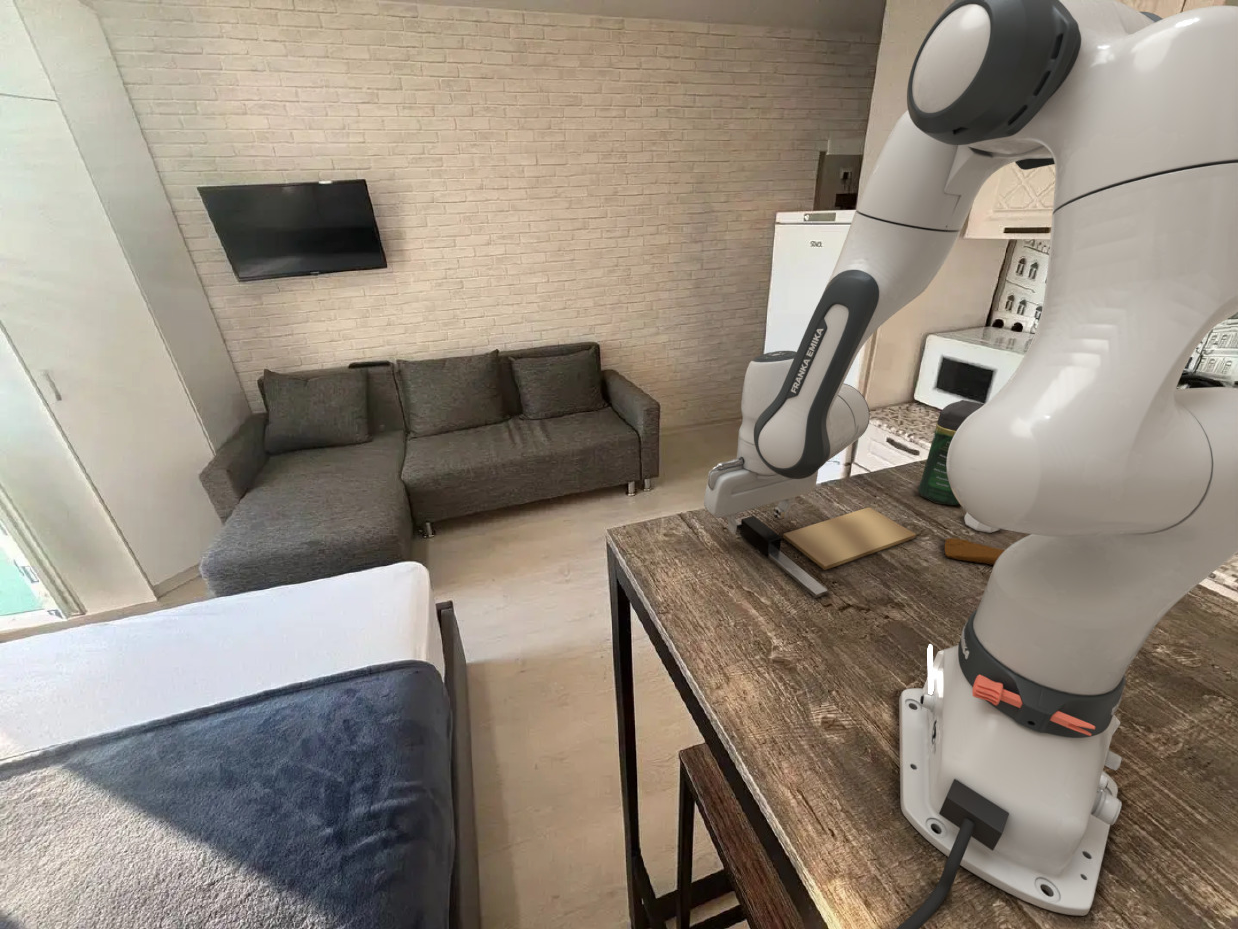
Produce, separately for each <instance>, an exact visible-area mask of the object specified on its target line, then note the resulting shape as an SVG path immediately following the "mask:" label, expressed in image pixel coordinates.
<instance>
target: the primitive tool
mask: <svg viewBox="0 0 1238 929" xmlns="http://www.w3.org/2000/svg"><path fill="white" fill-rule="evenodd" d="M1005 550H1006V549H1004V548H1003V549H1002V548H997V547H992V546H989V545H984V544H981V543H975V542H971V541H969V540H967V539H959V538H954V537H953V538H952V537H951V538H946V539H945V541H944V554H945V556H946V557H947V558H951V559H953V560H959V561H965V562H966V561H967V562H972V563H982V564H987V565H993V566H994V564H995V562H996V560H997V559H998V557H999V556H1000V555H1001V554H1002V553H1003V552H1004V551H1005Z"/></svg>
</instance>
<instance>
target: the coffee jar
mask: <svg viewBox="0 0 1238 929" xmlns="http://www.w3.org/2000/svg"><path fill="white" fill-rule="evenodd" d="M984 404H985V403H981V402H977V401H971V400H966V399H960V400H959V401H955V402H951V403H949V404H947V405H946V406H944V407H943V408H942V409H941V411H940V412H939V415H938V418H937V421H936V425H935V429H934V433H933V437H932V440H931V444H930V448H929V450H928V454H927V458H926V462H925V465H924V470H923V471H922V475H921V479H920V482H919V486H918V488H917V489H918V490H917V491H918V494H919V496H921V497H923V498H924V499H927V500H929V501H930V502H932V503H935V504H939V505H942V504H943V505H950V506H957V505H960V503H959V502H958V500H957V499H956V497H955V496H954V494H953V492H952V489H951V487H950V484H949V480H948V476H947V467H946V463H947V455H948V450H949V446H950V443H951V441H952V439H953V437H954V435H955V433H956V431H957V430H958V428H959V427H960V425H961V424H962V423H963V422H964V420H965V419H966V418H967V417H968V416H969V415H971V414H972V413H973V412H975V411H976V410H978V409H979V408H981V407H982V406H983V405H984Z"/></svg>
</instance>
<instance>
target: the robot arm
mask: <svg viewBox="0 0 1238 929" xmlns="http://www.w3.org/2000/svg"><path fill="white" fill-rule="evenodd" d="M906 89H907V90H906V106H907V110H906V111H905V112H904V113H902V115H901V116H900V117H899V118H898V119H897V121H896V123H895V124H894V126H893V128H892V130H891V131H890V133H889V135H888V137H887V139H886V141H885V142H884V144H883V147H882V148H881V150H880V152H879V154H878V156H877V159H876V160H875V163H874V165H873V167H872V169H871V171H870V174H869V176H868V178H867V180H866V183H865V185H864V188H863V189H862V193H861V195H860V198H859V201H858V203H857V206H856V209H855V212H854V214H853V217H852V220H851V223H850V226H849V229H848V231H847V234H846V237H845V240H844V242H843V245H842V248H841V250H840V252H839V256H838V258H837V260H836V263H835V266H834V268H833V270H832V273H831V275H830V277H829V279H828V282H826V286H825V288H824V290H823V293H822V294H821V297H820V299H819V301H818V303H817V305H816V307H815V309H814V311H813V313H812V316H811V317H810V320H809V321H808V324H807V326H806V329H805V331H804V334H803V336H802V338H801V341H800V343H799V345H798V348H797V350H796V351H794V350H775V351H771V352H769V351H768V352H766V353H763V354H760V355H758V356H756V357H754V358H753V359H752V360H751V361H750V362H749V363H748V366H747V368H746V372H745V375H744V380H743V384H742V393H741V401H740V402H741V403H740V412H741V416H742V417H741V418H742V421H741V425H740V427H739V430H738V440H737V449H736V458H733V459H730V460H727V461H720V462H718V463H716V464H715V466H714V467H712V469H711V470H709V471H708V475H707V483H706V488H705V493H704V500H703V506H704V508H705V509H706V511H707V512H708V513H709V514H710V515H712V516H713V517H714V518H716V519H722V518H725V519H726V520H727V530H728V531H729V532H730V533H731V534H733V535H734V534H737V533H740V531H741V525H742V524H741V521H739V520H738V519H737V518H738V514H740V513H743V512H747V511H751V510H754V509H758V508H761V507H764V506H768V505H773V504H776V503H778V505H777V506H775V507H774V508H773V514H772V515H773V517H774V518H775V519H777V521H781V520H785V519H787V518H788V511H789V510H790V509H791V507H792V506H793V504H794V503H795V501H796V498H797V497H800V496H805V495H808V494H811V493H812V492H813V490H815V487H816V486H817V482H818V477H819V476H818V475H819V470H820V469H821V468H822V467H823V466H824V465H825V464H827V462H828V461H830V460H832V458H835V456H837V455H839V454H841V452H843V451H844V450H845V449H847V448H848V447H849V446H850V445H852V444H853V443H855V442H856V441H857V440H859V439H860V438H861V437H862V436H863V435H864V434H865V433H866V431H867V429H868V427H869V423H870V419H871V418H870V417H871V416H870V415H871V414H870V407H869V404H868V402H867V400H866V398H865V397H864V395H863V394H862V393H861V392H860V391H859V390H858V389H857V388H855V387H854V386H852V385H850V384H848V383H844V382H845V380H846V379H847V376H848V375H849V372H850V370H851V369H852V366H853V364H854V362H855V359H856V357H857V356H858V355H859V353H860V351H861V349H863V346H864V345H865V343H866V342H867V341H868V340H869V339H870V338H871V336H872V335H873V334H874V333H875V332H876V331H877V330H878V329H879V328H880V327H881V326H882V325H883V324H884V323H886V322H887V321H888V320H889V319H890V318H891V317H893V316H894V315H895V314H897V313H898V312H899V311H901V310H902V309H903V308H904V307H905V306H907V305H908V304H910V303H911V302H913V301H914V300H915V299H917V298H918V297H919V296H921V294H923V293H924V292H925V291H926V290H927V288H928V287H929V286H930V284H931V283H932V281H933V280H934V279H935V277H936V276H937V274H938V273H939V271H940V269H942V267H943V265H944V264H945V262H946V261H947V259H948V258H949V255H950V254H951V252H952V250H953V248H954V246H955V244H956V242H957V240H958V237H959V236H960V233H961V231H962V229H963V227H964V225H965V222H966V221H967V218H968V216H969V214H970V211H971V209H972V206H973V204H974V202H975V200H976V197H977V196H978V194H979V192H980V190H981V189H982V187H983V185H985V183H986V181H987V180H988V179H989V178H990V177H991V176H992V175H993V174H995V173H997V171H999V170H1000V169H1002V168H1004V167H1006V166H1008V165H1010V164H1013V163H1015V164H1016V165H1017V166H1018V168H1019V169H1020V170H1023V171H1027V170H1032V169H1038V168H1042V167H1047V166H1052V165H1053V166H1054V175H1055V176H1054V177H1055V178H1054V192H1053V202H1052V203H1053V204H1052V214H1051V228H1050V240H1049V241H1050V242H1049V250H1048V252H1049V253H1048V262H1047V273H1046V280H1045V287H1044V288H1045V289H1044V295H1043V303H1042V309H1041V312H1040V317H1039V320H1038V324H1037V326H1036V329H1035V331H1034V335H1033V337H1032V339H1031V342H1030V344H1029V346H1028V348H1027V350H1026V351H1025V354H1024V356H1023V357H1022V359H1021V361H1020V363H1019V365H1017V368H1016V369H1015V370H1014V372H1013V374H1011V376H1010V378H1009V379H1008V380H1007V382H1006V383H1005V384H1004V385H1003V386H1002V388H1001V389H1000V390H999V391H998V392H997V393H995V395H994V396H992V398H991V399H989V400H988V401H987V402H986V403H983V404H984V405H983V406H982V407H981V408H979V409H978V410H976V411H975V412H973V413H972V414H971V415H969V416H968V417H967V418H966V419H965V420H964V422H963V423H962V424H961V425H960V427H959V428H958V430H957V431H956V433H955V435H954V437H953V439H952V441H951V443H950V446H949V450H948V455H947V463H946V467H947V476H948V480H949V484H950V487H951V489H952V492H953V494H954V496H955V497H956V499H957V500H958V502H959V505H960V507H961V508H962V509H964V511H965V512H966V513H968V514H969V515H970V516H971V517H973V518H974V519H975V520H977V521H978V522H980V523H982V524H984V525H986V526H989V527H993V528H998V529H999V530H1005V531H1010V532H1015V533H1021V534H1027V536H1023V537H1022V538H1020V539H1018V540H1017V541H1015V542H1013V543H1012V544H1011V545H1009V546H1008V547H1007V548H1006V549H1004V550H1005V551H1004V552H1003V553H1002V554H1001V555H1000V556H999V557H998V559H997V560H996V562H995V564H994V565H993V566H992V570H991V572H990V575H989V577H988V580H987V583H986V586H985V588H984V591H983V594H982V597H981V599H980V601H979V605H978V607H977V608H976V609H975V610H974V611H972V613H971V614H970V615H969V617H968V619H967V620H966V622H965V624H964V625H963V628H962V631H961V635H960V639H959V642H958V644H956V645H954V646H951V647H948V648H944V649H942V650H939V651H937V653H936V655H935V657H934V656H933V655H934V654H933V645H932V644H931V643H930V644H928V647H927V650H926V651H927V676H926V677H927V678H926V680H925V682H924V685H923V687H922V688H921V687H920V688H919V687H918V688H917V687H916V688H906V689H904V690H903V691H901V694H900V695H899V697H898V716H899V717H898V718H899V720H898V721H899V724H898V725H899V726H898V727H899V728H898V729H899V790H900V791H899V792H900V793H899V795H900V797H899V798H900V809H901V813H902V814H903V816H904V817H905V818H906V820H907V821H908V822H909V823H910V825H911V826H912V827H913V828H914V829H915V830H916V831H917V832H918V833H919V834H920V835H921V836H922V837H923V838H924V839H925V840H926V841H928V842H929V844H931V845H932V846H933V847H935V849H937V850H938V851H939V852H941V853H942V854H944V855H945V856H946V857H947V859H946V862H945V863H944V866H943V870H942V873H941V876H940V879H939V881H938V883H937V884H936V886H935V887H934V888H933V890H932V892H931V893H930V895H929V896H928V897H927V898H926V899H925V901H924V902H923V903H922V904H921V905H920V906H919V907H918V909H916V910H915V911H914V912H913V913H912V914H911V915H909V917H908V918H907V919H905V920H904V921H903V922H902V923H901V924H899V925H898V926H897V927H896V928H895V929H920V928H921V927H922V926H923V925H924V924H925V923H926V922H927V921H928V920H929V919H930V918H931V917H932V916H933V915H934V914H935V912H937V910H938V909H939V907H940V906H941V905H942V904H943V902H944V900H945V899H946V898H947V896H948V895H949V893H950V891H951V889H952V887H953V884H954V882H955V880H956V876H957V874H958V871H959V868H960V866H961V867H962V868H964V869H966V871H968V872H970V873H972V874H974V875H975V876H977V877H979V878H980V879H982V880H984V881H986V882H987V883H989V884H991V885H992V886H994V887H996V888H998V889H999V890H1002V891H1003V892H1006V893H1007V894H1009V895H1011V896H1013V897H1015V898H1018V899H1020V900H1022V901H1024V902H1026V903H1029V904H1032V905H1033V906H1036V907H1038V908H1041V909H1044V910H1046V911H1047V910H1048V911H1050V912H1053V913H1058V914H1063V915H1068V916H1082V917H1083V916H1087V915H1088V914H1089V912H1090V910H1091V908H1092V905H1093V902H1094V899H1095V894H1096V890H1097V885H1098V881H1099V877H1100V871H1101V868H1102V864H1103V858H1104V855H1105V850H1106V844H1107V841H1108V837H1109V832H1110V828H1111V826H1113V825H1114V824H1115V823H1116V822H1117V820H1118V818H1119V816H1120V813H1121V809H1122V800H1120V799H1119V798H1118V793H1119V787H1118V785H1117V783H1116V781H1115V780H1114V779H1113V778H1112V777H1111V776H1110V775H1109V774H1108V773H1106V771H1104V768H1105V767H1106V768H1109V769H1111V770H1113V771H1118V769H1119V768H1120V766H1121V763H1122V760H1123V758H1122V756H1121V755H1119V754H1118V753H1115V752H1113V751H1111V750H1110V745H1111V742H1112V738H1113V735H1114V734H1115V733H1116V731H1117V730H1118V728H1119V726H1120V725H1121V720H1119V719H1118V718H1117V715H1116V714H1115V713H1116V712H1117V711H1118V709H1119V706H1120V704H1121V702H1122V698H1123V695H1124V694H1123V692H1124V690H1125V689H1124V688H1125V687H1126V681H1127V680H1126V678H1127V677H1126V673H1127V671H1128V670H1129V668H1130V666H1131V665H1132V663H1133V661H1134V660H1135V658H1136V656H1137V655H1138V654H1139V652H1140V650H1141V649H1142V647H1143V646H1144V644H1145V642H1146V641H1147V639H1148V638H1149V636H1150V635H1151V633H1152V632H1153V630H1154V628H1155V627H1156V626H1157V625H1158V624H1159V622H1160V621H1161V620H1162V618H1163V617H1164V616H1165V615H1166V614H1167V613H1168V612H1170V610H1171V609H1172V608H1173V607H1174V606H1175V605H1176V604H1178V602H1179V601H1181V600H1182V599H1183V598H1184V597H1185V596H1186V595H1188V593H1190V592H1191V591H1193V589H1195V588H1196V587H1197V586H1198V585H1199V584H1200V583H1202V582H1203V581H1204V580H1206V578H1208V577H1209V576H1211V574H1213V573H1215V572H1216V571H1217V570H1218V569H1219V568H1220V567H1222V566H1223V565H1224V564H1225V563H1227V562H1228V561H1229V560H1230V559H1232V558H1233V557H1234V556H1236V554H1238V387H1229V386H1228V387H1227V386H1213V387H1193V388H1192V387H1191V388H1177V387H1178V384H1179V382H1180V379H1181V377H1182V374H1183V372H1184V370H1185V368H1186V366H1187V364H1188V362H1189V360H1190V359H1191V357H1192V355H1193V353H1194V352H1195V350H1196V349H1197V348H1198V347H1199V345H1200V343H1201V342H1202V341H1203V339H1204V338H1205V337H1206V336H1207V335H1208V334H1209V333H1210V332H1211V331H1212V330H1213V329H1214V328H1215V327H1217V325H1219V324H1221V323H1223V322H1224V321H1227V320H1228V319H1230V318H1231V317H1233V316H1235V315H1236V314H1238V5H1224V4H1223V5H1212V6H1211V5H1210V6H1204V7H1198V8H1193V9H1189V10H1185V11H1182V12H1179V13H1176V14H1172V15H1170V16H1167V17H1165V18H1162V17H1161V16H1159V15H1158V14H1155V13H1153V12H1150V11H1140V10H1139V11H1138V10H1137V9H1135V8H1133V7H1132V6H1130V5H1127V4H1125V3H1122V2H1120V1H1118V0H954V1H952V2H951V3H950V5H949V6H947V7H946V8H945V10H944V11H942V13H941V14H940V15H939V16H938V17H937V19H936V21H935V22H934V24H932V26H931V27H930V29H929V30H928V32H927V33H926V35H925V37H924V39H923V41H922V43H921V45H920V46H919V49H918V51H917V53H916V55H915V58H914V61H913V63H912V66H911V70H910V73H909V77H908V82H907V88H906ZM933 829H934V830H936V831H937V832H938V833H936V832H935V831H934V830H933ZM1044 891H1045V892H1046V893H1047V894H1048V895H1047V894H1046V893H1045V892H1044Z"/></svg>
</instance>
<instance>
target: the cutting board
mask: <svg viewBox="0 0 1238 929" xmlns="http://www.w3.org/2000/svg"><path fill="white" fill-rule="evenodd" d="M916 536H917V534H916V533H915V532H913V531H911V530H909V529H908V528H906V527H904V526H902V525H901V524H899V523H898V522H896V521H895V520H892V519H890V518H889V517H888V516H885V515H884V514H883V513H881V512H879V511H877V510H875V509H873V508H872V507H871V506H868V507H865V508H862V509H858V510H855V511H852V512H848V513H846V514H843V515H839V516H836V517H832V518H830V519H826V520H823V521H819V522H816V523H814V524H810V525H807V526H804V527H801V528H797V529H795V530H791V531H787V532H784V533H783V534H782V538H783V539H784V540H785V541H787V542H788V543H789V544H791V545H792V546H793V547H794V548H796V550H798V551H799V552H800V553H802V554H803V555H804V556H806V557H807V558H808V559H809V560H811V561H812V562H814V563H815V564H816V565H817V566H818V567H820V568H821V569H822V570H824V571H826V570H829V569H832V568H834V567H837V566H840V565H843V564H846V563H849V562H852V561H855V560H857V559H860V558H863V557H865V556H868V555H871V554H874V553H878V552H880V551H883V550H885V549H889V548H892V547H894V546H897V545H900V544H902V543H905V542H908V541H911V540H913V539H916Z"/></svg>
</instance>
